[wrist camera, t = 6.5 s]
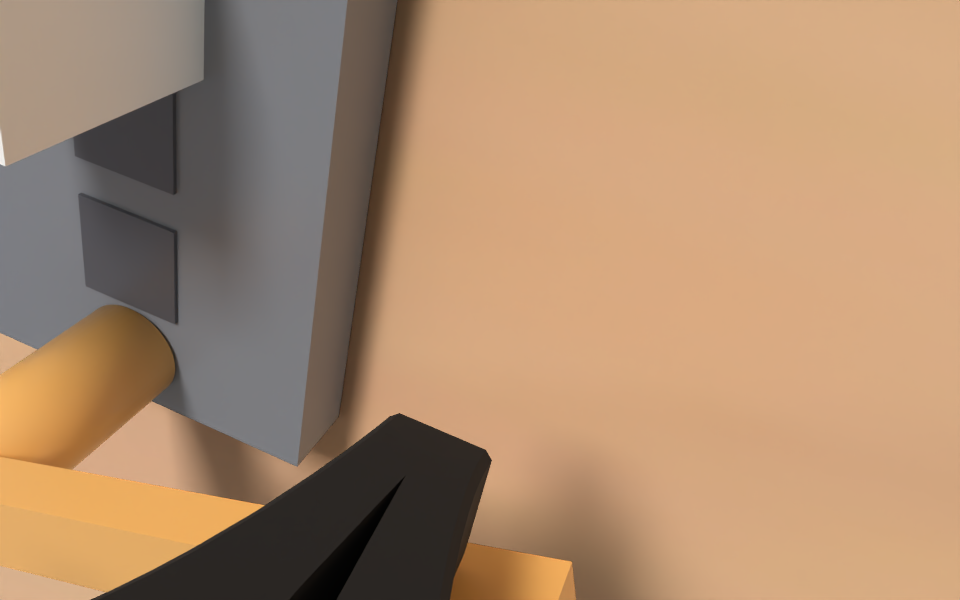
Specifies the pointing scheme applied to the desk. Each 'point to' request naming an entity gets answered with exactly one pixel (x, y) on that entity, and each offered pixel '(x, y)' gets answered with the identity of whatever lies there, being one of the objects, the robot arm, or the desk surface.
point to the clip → (133, 505)
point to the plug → (89, 64)
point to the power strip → (220, 218)
